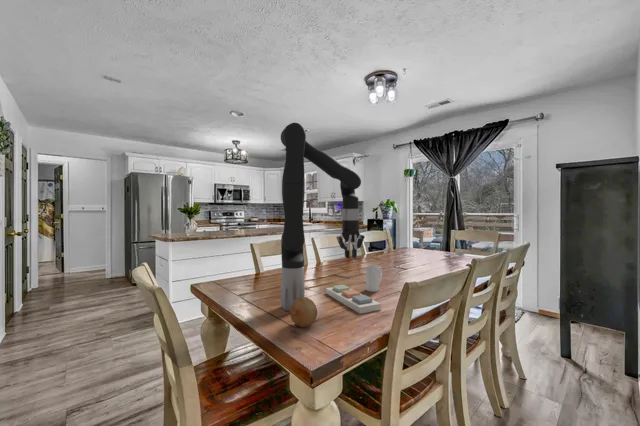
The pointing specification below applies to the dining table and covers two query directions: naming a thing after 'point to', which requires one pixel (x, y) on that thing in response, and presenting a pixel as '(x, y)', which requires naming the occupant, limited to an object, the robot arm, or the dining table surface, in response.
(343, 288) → the green button
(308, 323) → the onion
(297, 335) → the dining table surface
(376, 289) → the mug
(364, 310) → the button panel
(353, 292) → the terracotta button
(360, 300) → the grey button
